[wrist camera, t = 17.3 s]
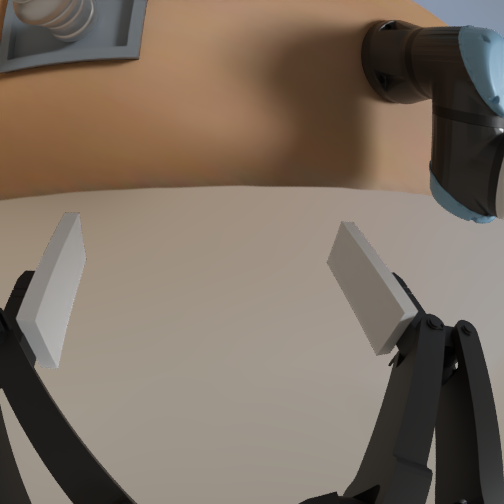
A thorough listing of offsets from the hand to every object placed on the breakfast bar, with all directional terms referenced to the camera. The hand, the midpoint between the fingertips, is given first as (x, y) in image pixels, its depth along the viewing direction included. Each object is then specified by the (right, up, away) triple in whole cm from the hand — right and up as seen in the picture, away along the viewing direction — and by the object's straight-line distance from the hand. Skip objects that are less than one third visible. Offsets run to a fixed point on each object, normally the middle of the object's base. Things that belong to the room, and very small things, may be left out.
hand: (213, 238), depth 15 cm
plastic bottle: (-20, +29, +13) cm, 38 cm away
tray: (-22, +30, +13) cm, 39 cm away
